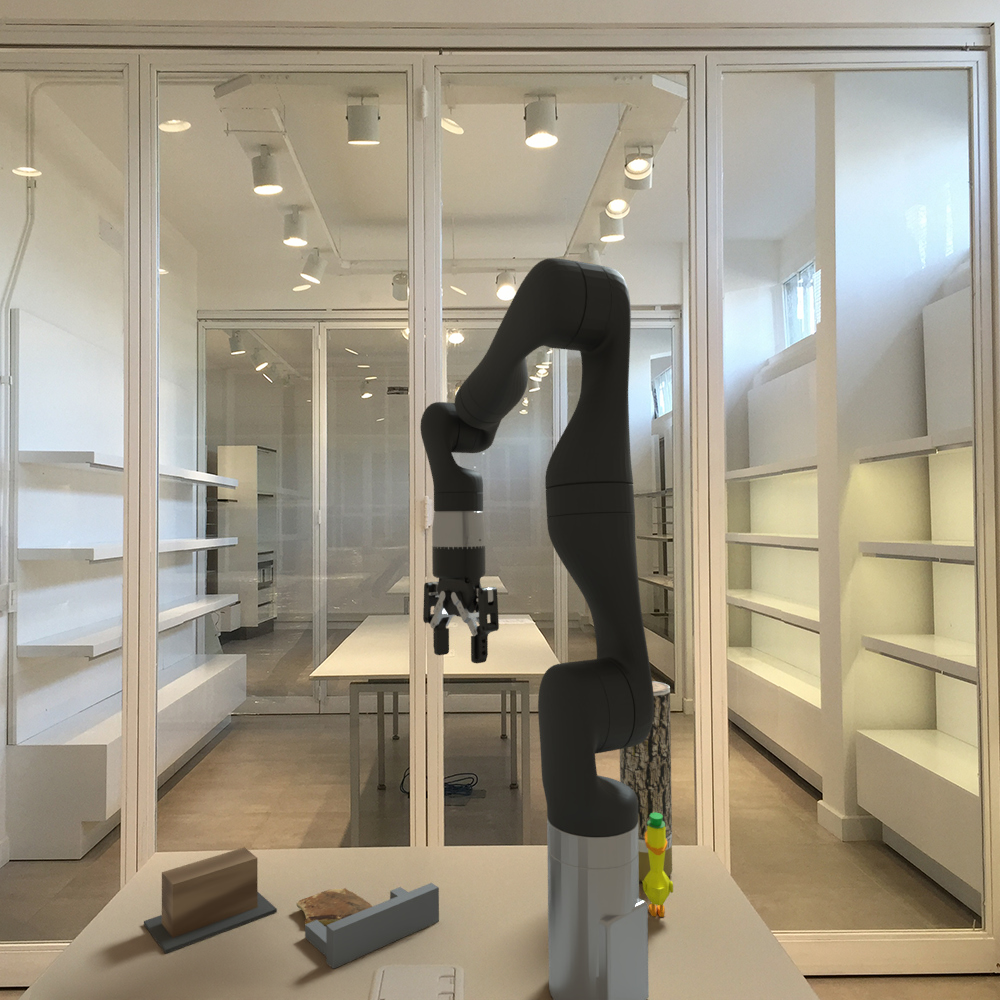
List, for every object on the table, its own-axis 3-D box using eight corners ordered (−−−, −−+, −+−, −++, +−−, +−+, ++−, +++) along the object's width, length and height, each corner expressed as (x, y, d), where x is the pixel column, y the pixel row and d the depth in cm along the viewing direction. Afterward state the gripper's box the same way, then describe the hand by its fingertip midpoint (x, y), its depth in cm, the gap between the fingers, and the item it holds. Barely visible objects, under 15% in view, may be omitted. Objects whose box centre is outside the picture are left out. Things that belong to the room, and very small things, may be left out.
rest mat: (276, 912, 92) (276, 908, 92) (165, 953, 83) (165, 949, 83) (250, 888, 98) (250, 884, 98) (143, 924, 89) (143, 921, 89)
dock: (439, 921, 89) (438, 887, 89) (333, 968, 80) (333, 930, 80) (403, 897, 95) (403, 865, 95) (301, 939, 86) (300, 903, 86)
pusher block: (257, 907, 92) (257, 857, 92) (172, 937, 86) (172, 884, 86) (244, 894, 95) (244, 847, 95) (161, 923, 89) (161, 872, 89)
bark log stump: (614, 878, 100) (611, 688, 100) (630, 857, 106) (628, 678, 106) (664, 889, 96) (662, 694, 97) (678, 867, 102) (675, 683, 103)
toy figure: (639, 897, 95) (638, 801, 95) (668, 897, 94) (666, 801, 95) (645, 926, 88) (643, 822, 88) (676, 927, 88) (674, 823, 88)
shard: (391, 931, 88) (391, 915, 88) (333, 956, 83) (333, 940, 83) (344, 896, 96) (344, 882, 96) (288, 918, 91) (288, 903, 91)
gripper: (512, 543, 103) (513, 662, 103) (449, 541, 114) (450, 648, 114) (469, 545, 99) (470, 669, 98) (408, 543, 109) (409, 655, 109)
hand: (459, 658), depth 106 cm, fingers open, 8 cm apart
